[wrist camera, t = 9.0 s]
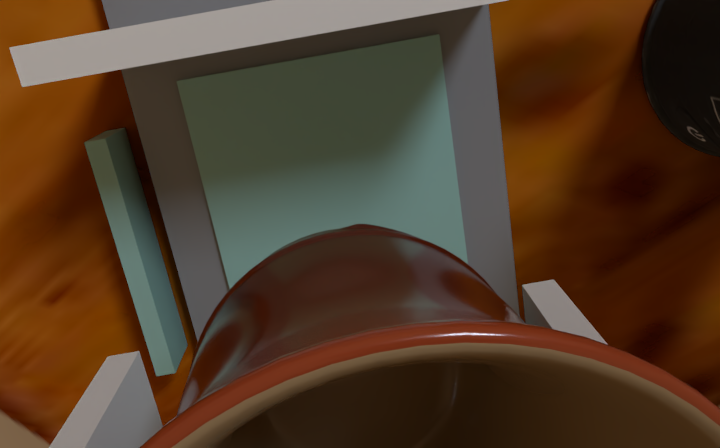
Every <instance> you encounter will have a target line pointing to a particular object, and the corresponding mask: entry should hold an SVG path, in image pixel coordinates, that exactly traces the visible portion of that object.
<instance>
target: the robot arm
mask: <svg viewBox="0 0 720 448" xmlns="http://www.w3.org/2000/svg"><path fill="white" fill-rule="evenodd" d="M522 292H523V302H524V312H525V323H526V324H529V325H537V326H542V327H546V328H550V329H554V330H559V331H563V332H567V333H571V334H576V335H580V336H584V337H587V338H590V339H593V340H596V341H599V342H601V343H604V344H607V343H606V342H605V340H604V339H603V338H602V337H601V336H600V334H599V333H598V332H597V331H596V330H595V328H594V327H593V326H592V325H591V324H590V322H589V321H588V320H587V319H586V318H585V316H584V315H583V314H582V313H581V312H580V310H579V309H578V308H577V307H576V306H575V304H574V303H573V302H572V301H571V300H570V298H569V297H568V296H567V295H566V294H565V292H564V291H563V290H562V289H561V287H560V286H559V285H558V284H557V283H556V281H555V280H554V279H553V280H547V281H541V282H535V283H530V284H524V285H522ZM607 345H608V344H607ZM686 384H687V383H686ZM688 385H689V384H688ZM690 386H691V385H690ZM691 387H692V386H691ZM162 427H163V425H162V422H161V419H160V415H159V412H158V409H157V406H156V403H155V400H154V396H153V393H152V390H151V387H150V384H149V381H148V377H147V374H146V371H145V368H144V365H143V361H142V358H141V355H140V352H139V351H137V352H131V353H125V354H119V355H113V356H108V357H107V358H106V360H105V362H104V363H103V365H102V366H101V368H100V369H99V371H98V372H97V374H96V376H95V377H94V379H93V380H92V382H91V383H90V385H89V386H88V388H87V389H86V391H85V393H84V394H83V396H82V397H81V399H80V400H79V402H78V403H77V405H76V406H75V408H74V410H73V411H72V413H71V414H70V416H69V417H68V419H67V420H66V422H65V423H64V425H63V427H62V428H61V430H60V431H59V433H58V434H57V436H56V437H55V439H54V440H53V442H52V444H51V445H50V447H49V448H139V447H140V446H141V445H143V444H144V443H145V442H146V441H147V440H148V439H149V438H151V437H152V436H153V435H154V434H155V433H156V432H157V431H159V430H160V429H161V428H162Z"/></svg>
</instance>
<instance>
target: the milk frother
mask: <svg viewBox="0 0 720 448" xmlns="http://www.w3.org/2000/svg"><path fill="white" fill-rule="evenodd" d="M642 71H643V79H644V86H645V89H646V92H647V94H648V98H649V101H650V103H651V105H652V107H653V109H654V111H655V113H656V114H657V115H658V117H659V119H660V120H661V122H662V123H663V124H664V125H665V126H666V127H667V129H668V130H669V131H670V132H671V133H672V134H673V135H675V136H676V137H677V138H678V139H679V140H681V141H682V142H684V143H685V144H686V145H688V146H690V147H693V148H694V149H696V150H699V151H701V152H704V153H707V154H710V155H714V156H718V157H720V0H657V1H656V3H655V5H654V7H653V9H652V13H651V16H650V18H649V20H648V24H647V29H646V32H645V35H644V41H643V49H642Z"/></svg>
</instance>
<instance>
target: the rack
mask: <svg viewBox="0 0 720 448" xmlns="http://www.w3.org/2000/svg"><path fill="white" fill-rule="evenodd" d="M502 1H507V0H102V4H103V7H104V11H105V14H106V18H107V21H108V25H109V29H110V30H104V31H99V32H93V33H87V34H82V35H76V36H71V37H65V38H60V39H54V40H48V41H43V42H37V43H32V44H26V45H21V46H15V47H9V49H10V52H11V55H12V58H13V61H14V64H15V67H16V70H17V73H18V76H19V79H20V82H21V85H22V87H25V86H31V85H37V84H42V83H48V82H53V81H59V80H65V79H70V78H76V77H81V76H87V75H93V74H98V73H104V72H110V71H115V70H121V71H122V75H123V78H124V82H125V85H126V89H127V93H128V96H129V100H130V103H131V107H132V110H133V114H134V117H135V121H136V125H137V128H138V132H139V135H140V139H141V142H142V146H143V149H144V153H145V157H146V160H147V164H148V167H149V171H150V174H151V178H152V181H153V185H154V189H155V192H156V196H157V199H158V203H159V206H160V210H161V213H162V217H163V221H164V224H165V228H166V231H167V235H168V238H169V242H170V245H171V249H172V253H173V256H174V260H175V263H176V267H177V270H178V274H179V277H180V281H181V285H182V288H183V292H184V295H185V299H186V302H187V306H188V309H189V313H190V317H191V320H192V324H193V327H194V331H195V334H196V338H197V341H198V340H199V338H200V335H201V333H202V331H203V329H204V327H205V325H206V323H207V321H208V319H209V317H210V316H211V314H212V313H213V311H214V309H215V308H216V306H217V305H218V303H219V302H220V301H221V300H222V298H223V297H224V296H225V294H226V293H227V292H228V291H229V290H230V289H231V288H232V287H233V285H234V284H235V283H236V282H237V281H238V280H239V279H240V278H241V277H243V276H244V275H245V274H246V273H247V272H248V271H249V270H251V269H252V268H253V267H254V266H256V265H257V264H259V263H260V262H261V261H262V260H264V259H265V258H266V257H268V256H269V255H271V254H272V253H273V252H275V251H277V250H278V249H280V248H282V247H283V246H285V245H287V244H289V243H291V242H293V241H295V240H298V239H300V238H302V237H305V236H308V235H311V234H314V233H318V232H322V231H326V230H332V229H339V228H343V227H347V226H351V225H355V224H370V225H376V226H381V227H386V228H390V229H394V230H398V231H401V232H405V233H408V234H410V235H413V236H416V237H419V238H421V239H423V240H426V241H429V242H431V243H433V244H435V245H437V246H440V247H442V248H444V249H446V250H447V251H449V252H451V253H452V254H454V255H456V256H457V257H459V258H460V259H462V260H463V261H464V262H465V263H467V264H468V265H469V266H471V267H472V268H473V269H474V270H475V271H476V272H477V273H478V274H479V275H481V276H482V277H483V278H484V279H485V281H486V282H487V283H488V284H489V285H490V286H491V288H492V289H493V290H494V291H495V292H496V294H497V295H498V296H499V297H500V298H501V299H503V300H504V301H505V302H506V303H507V304H508V305H509V306H510V307H511V308H512V309H513V310H514V311H515V312H516V313H517V314H518V316H519V317H520V314H519V304H518V294H517V284H516V274H515V264H514V254H513V245H512V235H511V225H510V215H509V205H508V195H507V185H506V175H505V165H504V155H503V145H502V135H501V125H500V115H499V105H498V95H497V85H496V75H495V65H494V55H493V45H492V35H491V25H490V16H489V6H488V4H490V3H496V2H502ZM84 144H85V147H86V151H87V154H88V157H89V160H90V163H91V167H92V170H93V173H94V176H95V180H96V183H97V186H98V189H99V192H100V196H101V199H102V202H103V205H104V209H105V212H106V215H107V218H108V221H109V225H110V228H111V231H112V234H113V238H114V241H115V244H116V247H117V250H118V254H119V257H120V260H121V263H122V267H123V270H124V273H125V276H126V280H127V283H128V286H129V289H130V292H131V296H132V299H133V302H134V305H135V309H136V312H137V315H138V318H139V321H140V325H141V328H142V331H143V334H144V338H145V341H146V344H147V347H148V350H149V354H150V357H151V360H152V363H153V367H154V370H155V373H156V376H162V375H168V374H173V373H176V371H177V368H178V366H179V364H180V361H181V359H182V357H183V354H184V352H185V350H186V347H187V345H188V344H187V341H186V337H185V334H184V330H183V327H182V323H181V320H180V317H179V313H178V310H177V306H176V303H175V299H174V296H173V292H172V289H171V285H170V282H169V278H168V275H167V271H166V268H165V264H164V261H163V257H162V254H161V250H160V247H159V243H158V240H157V236H156V233H155V229H154V226H153V223H152V219H151V216H150V212H149V209H148V205H147V202H146V198H145V195H144V191H143V188H142V184H141V181H140V177H139V174H138V170H137V167H136V163H135V160H134V156H133V153H132V149H131V146H130V142H129V139H128V135H127V132H126V129H125V128H119V129H114V130H108V131H105V132H103V133H101V134H99V135H97V136H95V137H93V138H91V139H90V140H88V141H86V142H84Z"/></svg>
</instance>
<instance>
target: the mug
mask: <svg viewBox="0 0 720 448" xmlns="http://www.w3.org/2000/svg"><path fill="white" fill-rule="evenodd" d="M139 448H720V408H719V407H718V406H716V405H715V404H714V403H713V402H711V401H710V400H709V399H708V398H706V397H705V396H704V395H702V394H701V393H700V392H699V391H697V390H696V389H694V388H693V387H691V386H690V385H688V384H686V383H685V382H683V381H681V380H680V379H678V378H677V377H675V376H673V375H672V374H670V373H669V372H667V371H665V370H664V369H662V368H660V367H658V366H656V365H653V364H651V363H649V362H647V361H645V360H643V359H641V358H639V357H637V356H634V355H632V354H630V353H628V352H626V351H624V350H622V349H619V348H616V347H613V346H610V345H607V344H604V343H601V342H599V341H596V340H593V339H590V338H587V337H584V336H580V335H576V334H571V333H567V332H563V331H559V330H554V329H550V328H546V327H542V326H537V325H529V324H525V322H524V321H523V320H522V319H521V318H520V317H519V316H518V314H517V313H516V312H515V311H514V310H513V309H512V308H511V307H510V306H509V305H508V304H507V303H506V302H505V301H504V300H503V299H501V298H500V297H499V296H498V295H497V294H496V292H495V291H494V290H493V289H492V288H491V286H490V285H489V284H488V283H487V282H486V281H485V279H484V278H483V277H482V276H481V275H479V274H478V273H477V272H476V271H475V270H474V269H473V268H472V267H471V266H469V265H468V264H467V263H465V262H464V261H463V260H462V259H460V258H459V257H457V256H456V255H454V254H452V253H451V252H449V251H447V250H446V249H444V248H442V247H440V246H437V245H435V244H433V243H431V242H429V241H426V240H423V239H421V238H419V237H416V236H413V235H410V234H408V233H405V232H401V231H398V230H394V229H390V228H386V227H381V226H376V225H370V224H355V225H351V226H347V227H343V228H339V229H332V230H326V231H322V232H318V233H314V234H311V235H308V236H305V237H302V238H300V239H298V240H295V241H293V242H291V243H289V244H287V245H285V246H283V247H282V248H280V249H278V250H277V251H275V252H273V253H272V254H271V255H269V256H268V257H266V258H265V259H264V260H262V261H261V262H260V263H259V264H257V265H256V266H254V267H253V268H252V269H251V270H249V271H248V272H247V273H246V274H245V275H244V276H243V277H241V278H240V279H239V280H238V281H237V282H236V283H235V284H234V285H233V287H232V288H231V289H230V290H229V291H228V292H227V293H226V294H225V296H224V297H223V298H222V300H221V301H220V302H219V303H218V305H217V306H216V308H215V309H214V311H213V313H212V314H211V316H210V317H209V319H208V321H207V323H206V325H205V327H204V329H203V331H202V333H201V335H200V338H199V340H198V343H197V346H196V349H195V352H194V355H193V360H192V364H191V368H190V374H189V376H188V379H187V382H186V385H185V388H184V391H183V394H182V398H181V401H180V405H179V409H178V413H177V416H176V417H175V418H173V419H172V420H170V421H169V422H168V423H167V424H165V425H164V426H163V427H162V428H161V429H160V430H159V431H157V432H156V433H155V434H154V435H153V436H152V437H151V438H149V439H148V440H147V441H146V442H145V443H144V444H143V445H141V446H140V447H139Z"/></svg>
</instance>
